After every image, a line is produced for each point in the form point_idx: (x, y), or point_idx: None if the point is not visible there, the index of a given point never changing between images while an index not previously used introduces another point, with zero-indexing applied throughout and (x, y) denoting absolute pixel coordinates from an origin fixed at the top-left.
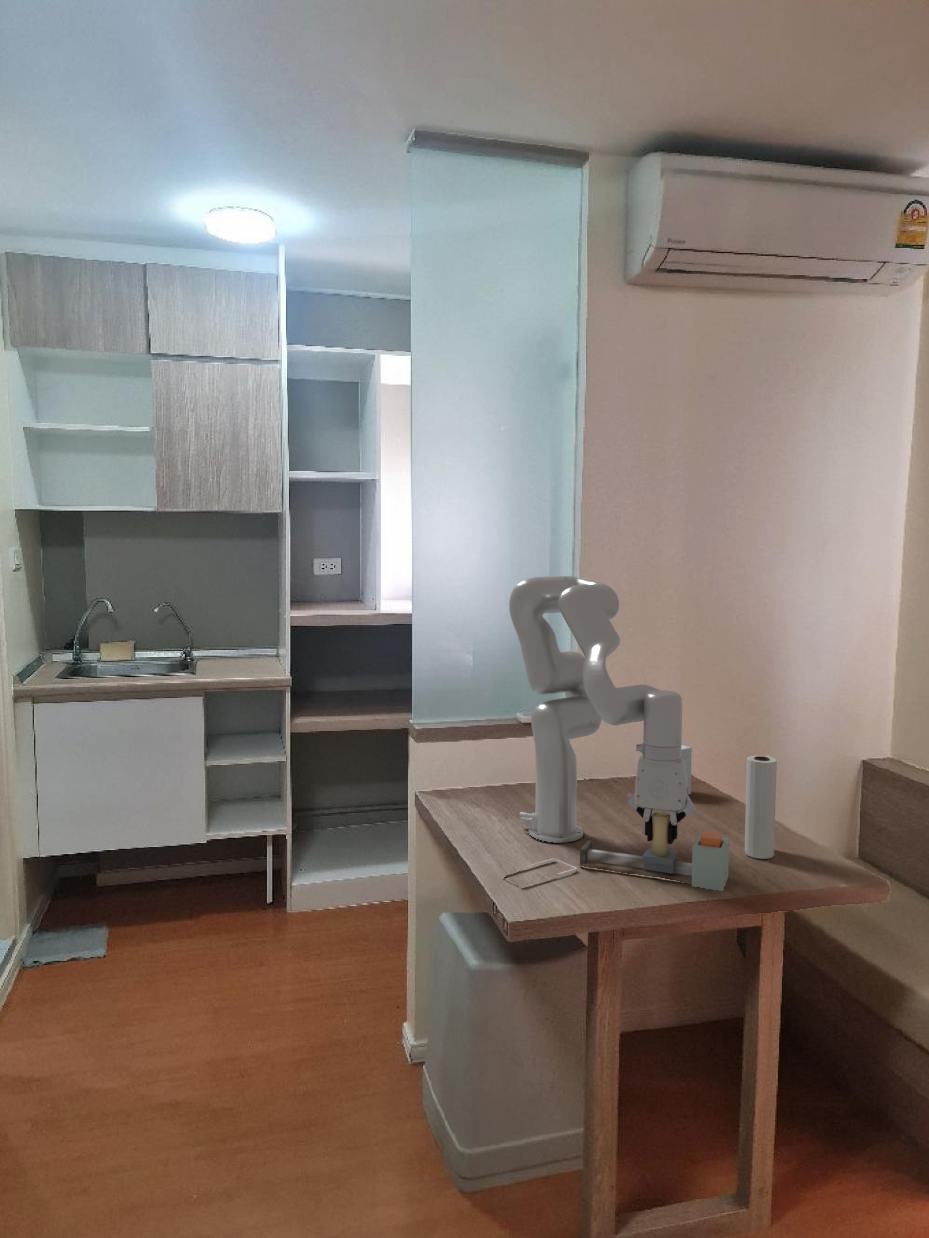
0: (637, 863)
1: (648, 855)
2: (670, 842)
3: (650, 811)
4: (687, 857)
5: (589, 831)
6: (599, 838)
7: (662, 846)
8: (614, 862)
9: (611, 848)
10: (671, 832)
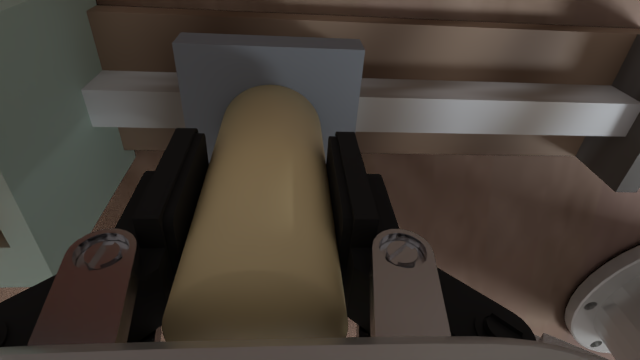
0: (385, 86)
1: (331, 68)
2: (182, 130)
3: (372, 330)
4: None
5: (537, 334)
6: (513, 304)
7: (245, 113)
8: (492, 85)
9: (479, 253)
10: (154, 176)
